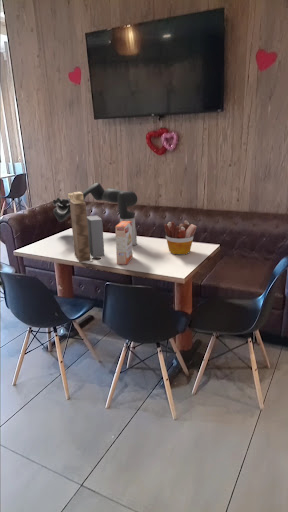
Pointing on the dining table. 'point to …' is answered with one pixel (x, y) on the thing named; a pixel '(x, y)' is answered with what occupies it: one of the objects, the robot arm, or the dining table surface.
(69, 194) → the tan wooden molding strip
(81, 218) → the wooden block
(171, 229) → the bucket of meat
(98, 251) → the step
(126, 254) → the cracker box
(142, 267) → the dining table surface
